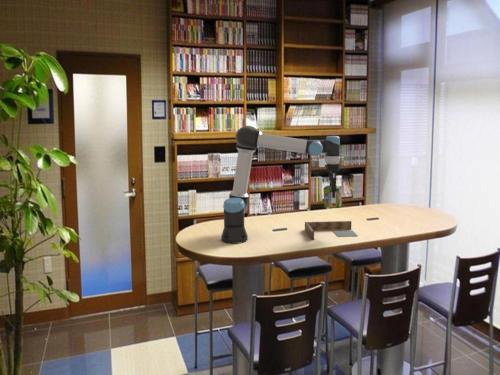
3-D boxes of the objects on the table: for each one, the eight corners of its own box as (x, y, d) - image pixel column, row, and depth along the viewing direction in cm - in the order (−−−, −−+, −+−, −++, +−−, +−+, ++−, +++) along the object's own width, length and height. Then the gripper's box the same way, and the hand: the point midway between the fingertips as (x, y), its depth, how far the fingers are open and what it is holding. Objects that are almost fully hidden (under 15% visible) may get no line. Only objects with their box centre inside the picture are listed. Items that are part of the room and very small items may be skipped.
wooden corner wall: (311, 239, 262) (311, 231, 261) (304, 229, 284) (304, 221, 283) (360, 238, 264) (361, 230, 263) (350, 228, 285) (350, 220, 285)
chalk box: (339, 208, 261) (339, 182, 259) (323, 207, 265) (323, 182, 262) (342, 205, 270) (342, 180, 267) (326, 204, 273) (326, 179, 271)
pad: (337, 236, 268) (337, 236, 268) (332, 231, 280) (332, 230, 280) (357, 236, 268) (357, 235, 268) (352, 230, 280) (352, 230, 280)
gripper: (341, 165, 251) (341, 205, 255) (337, 161, 274) (337, 197, 278) (327, 165, 252) (327, 205, 256) (325, 161, 275) (324, 197, 278)
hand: (332, 201), depth 267 cm, fingers closed on chalk box, 10 cm apart
